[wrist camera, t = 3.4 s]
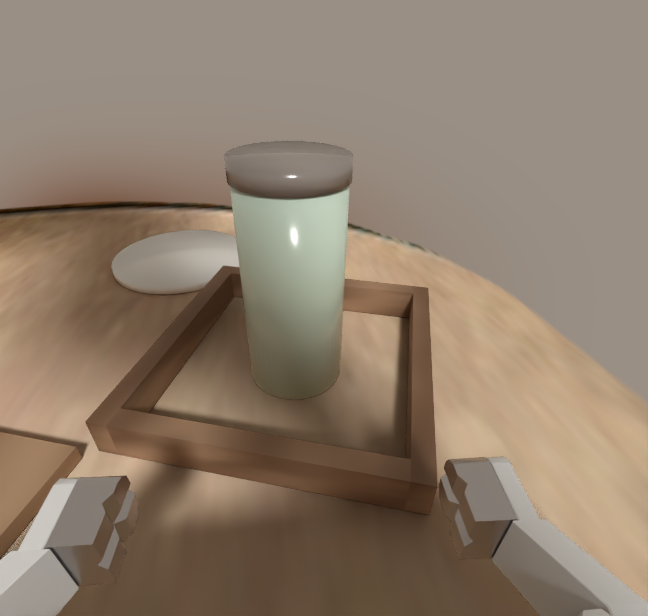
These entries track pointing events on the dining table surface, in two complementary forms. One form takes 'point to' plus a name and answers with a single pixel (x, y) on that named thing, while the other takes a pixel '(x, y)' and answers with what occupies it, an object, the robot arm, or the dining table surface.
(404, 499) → the walnut box
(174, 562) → the dining table surface
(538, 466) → the dining table surface
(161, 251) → the coaster
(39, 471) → the box lid
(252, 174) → the sage jar
